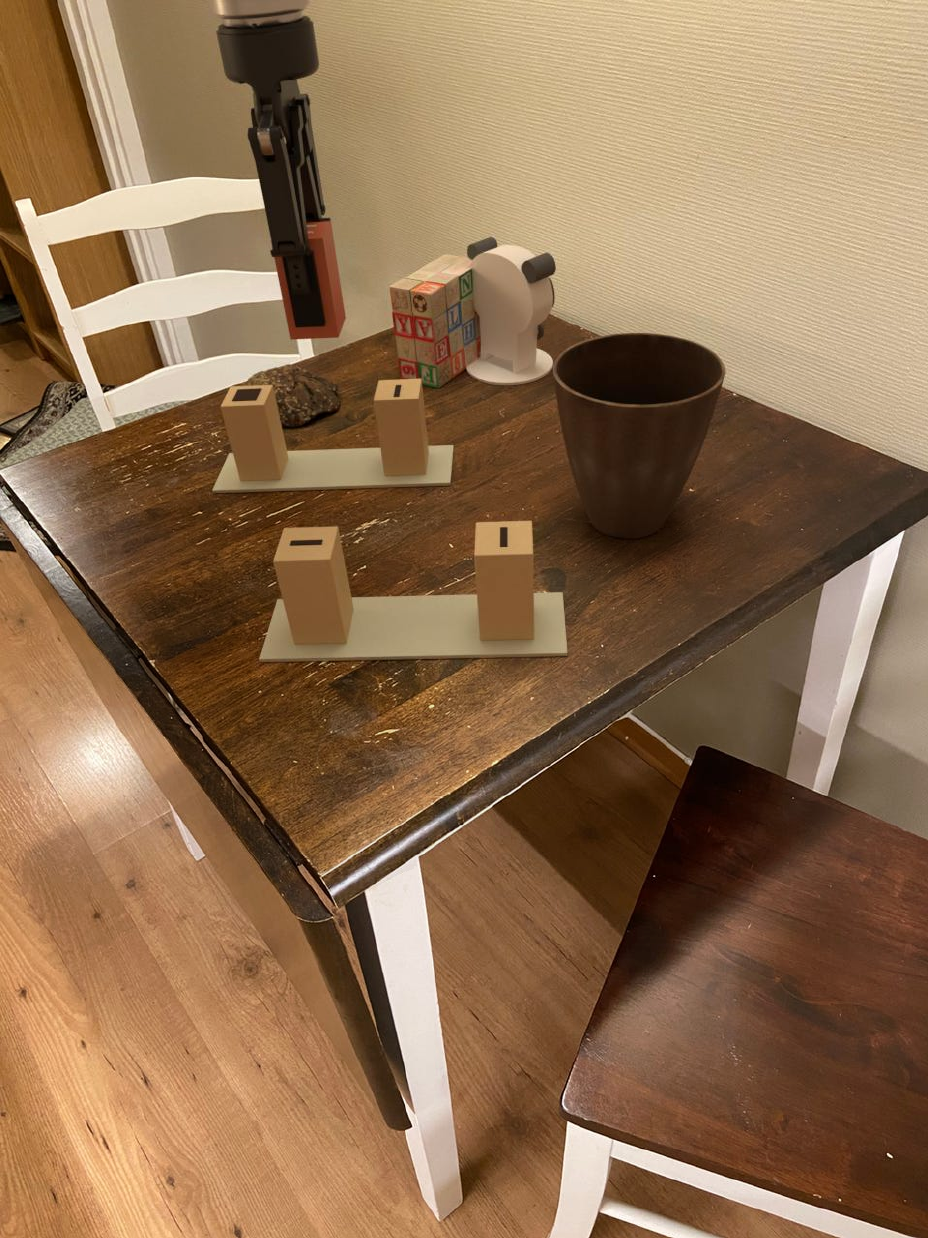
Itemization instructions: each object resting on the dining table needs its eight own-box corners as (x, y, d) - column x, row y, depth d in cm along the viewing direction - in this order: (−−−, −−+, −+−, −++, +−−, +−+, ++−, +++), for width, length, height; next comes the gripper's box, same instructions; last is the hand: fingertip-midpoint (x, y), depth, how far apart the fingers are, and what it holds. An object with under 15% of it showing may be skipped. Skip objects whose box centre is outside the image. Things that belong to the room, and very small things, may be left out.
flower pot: (586, 466, 96) (590, 322, 85) (722, 495, 90) (745, 344, 79) (527, 540, 86) (524, 387, 75) (676, 578, 80) (695, 418, 70)
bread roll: (220, 414, 110) (210, 376, 107) (289, 375, 117) (282, 339, 114) (294, 439, 104) (285, 400, 101) (362, 396, 111) (356, 359, 108)
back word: (212, 493, 96) (189, 414, 90) (230, 455, 102) (209, 379, 96) (450, 485, 94) (443, 404, 88) (453, 447, 100) (447, 369, 94)
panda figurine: (574, 364, 115) (577, 245, 105) (514, 395, 109) (511, 272, 99) (508, 340, 122) (505, 226, 112) (448, 368, 116) (439, 251, 106)
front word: (259, 662, 75) (234, 574, 69) (278, 602, 81) (256, 516, 75) (567, 656, 73) (569, 565, 67) (562, 595, 79) (564, 506, 73)
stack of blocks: (486, 320, 128) (482, 231, 120) (524, 327, 125) (522, 236, 117) (399, 379, 114) (387, 284, 106) (438, 389, 112) (430, 292, 104)
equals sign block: (290, 339, 83) (270, 239, 77) (299, 320, 86) (281, 222, 80) (338, 337, 82) (322, 236, 76) (346, 318, 86) (330, 219, 80)
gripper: (288, 31, 61) (340, 351, 76) (329, -1, 74) (366, 278, 90) (183, 38, 62) (255, 355, 77) (242, 5, 75) (294, 281, 90)
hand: (315, 313), depth 83 cm, fingers closed on equals sign block, 5 cm apart
